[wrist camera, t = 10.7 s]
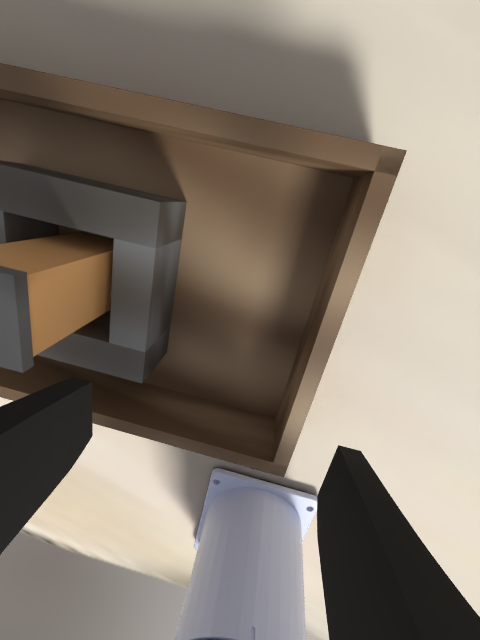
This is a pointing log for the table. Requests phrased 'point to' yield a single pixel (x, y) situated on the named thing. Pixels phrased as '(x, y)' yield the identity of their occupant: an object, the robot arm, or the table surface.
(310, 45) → the table surface
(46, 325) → the plug
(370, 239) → the brown wooden box
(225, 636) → the robot arm
